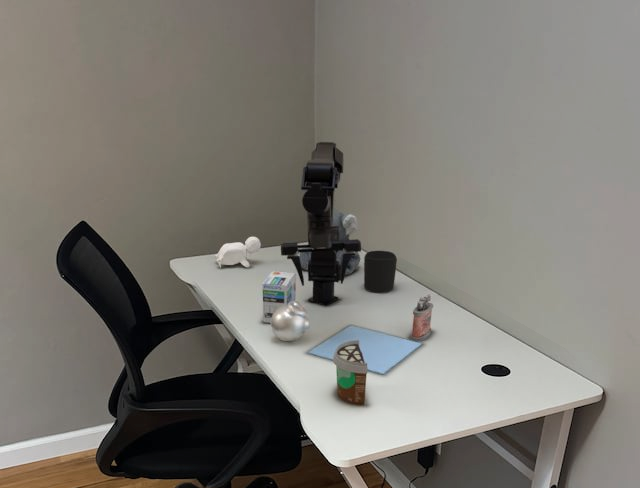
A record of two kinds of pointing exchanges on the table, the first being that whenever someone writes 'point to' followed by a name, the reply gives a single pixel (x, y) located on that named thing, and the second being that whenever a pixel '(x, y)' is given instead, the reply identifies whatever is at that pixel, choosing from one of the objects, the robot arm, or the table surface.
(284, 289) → the light bulb box
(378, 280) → the pen holder
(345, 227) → the koala plush
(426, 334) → the lighter
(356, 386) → the food container
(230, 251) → the white turtle figurine
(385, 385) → the table surface
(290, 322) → the silver rounded lump
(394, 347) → the blue square mat
